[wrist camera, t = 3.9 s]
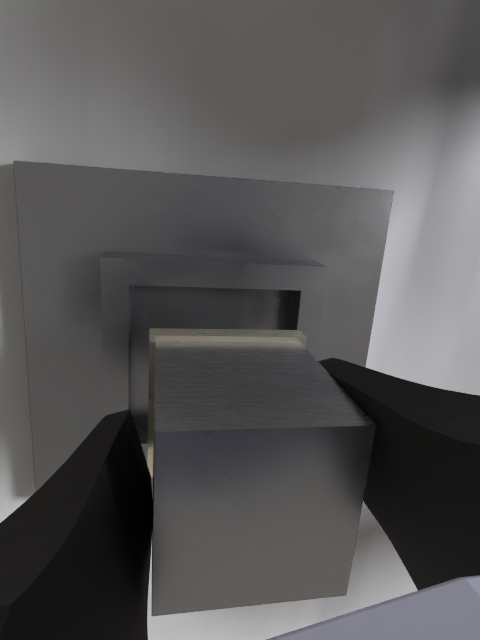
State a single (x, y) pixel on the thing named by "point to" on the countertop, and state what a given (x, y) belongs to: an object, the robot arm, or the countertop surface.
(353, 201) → the stand base
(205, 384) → the brushed metal block
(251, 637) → the countertop surface
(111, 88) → the countertop surface
